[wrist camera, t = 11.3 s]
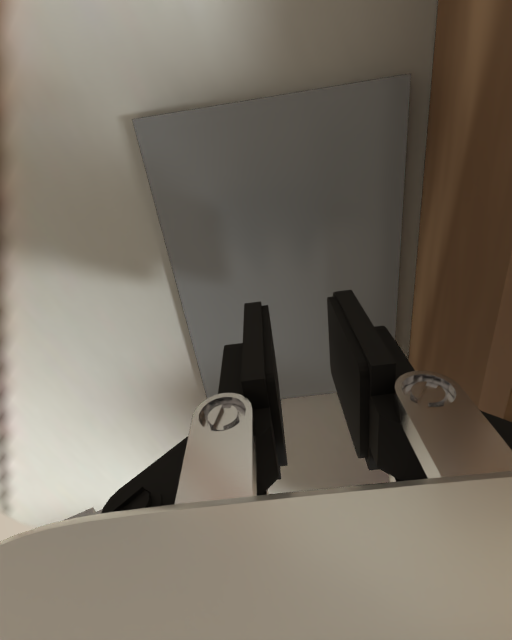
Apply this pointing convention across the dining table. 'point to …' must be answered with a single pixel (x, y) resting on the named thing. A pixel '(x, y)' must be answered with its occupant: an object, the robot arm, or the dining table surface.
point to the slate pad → (282, 217)
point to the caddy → (468, 207)
